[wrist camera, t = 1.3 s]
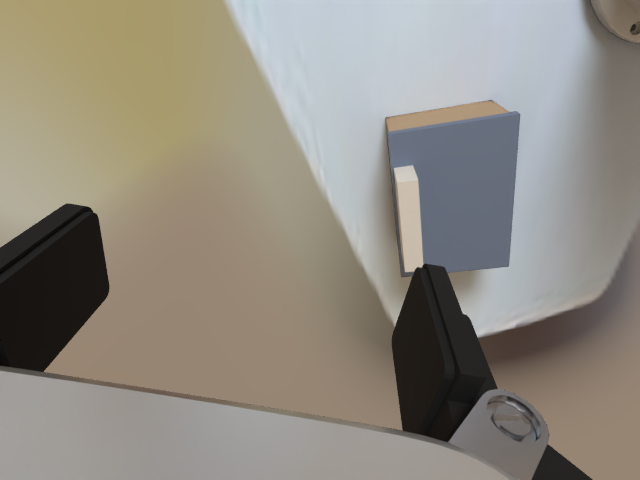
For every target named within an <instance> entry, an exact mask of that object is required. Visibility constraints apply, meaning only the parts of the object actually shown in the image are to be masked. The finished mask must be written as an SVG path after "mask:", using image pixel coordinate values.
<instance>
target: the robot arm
mask: <svg viewBox="0 0 640 480" xmlns="http://www.w3.org/2000/svg"><path fill="white" fill-rule="evenodd" d="M591 4H592V6H593V9H594V11H595V13H596V15H597V17H598V19H599V20H600V21H601V23H602V24H603V25H604V26H605V27H606V29H607V30H609V31H610V32H612V33H613V34H614V35H616V36H617V37H619V38H621V39H624V40H627V41H630V42H632V43H639V44H640V0H591ZM632 25H633V27H632V29H631V26H632ZM630 29H631V30H630ZM108 293H109V281H108V275H107V269H106V262H105V256H104V250H103V244H102V237H101V231H100V225H99V219H98V216H97V214H95V213H93V211H92V210H91V208H89V207H86V206H80V205H74V204H65V205H63V206H62V207H60V208H59V209H57V210H56V211H54V212H53V213H51V214H50V215H48V216H47V217H45V218H44V219H42V220H41V221H39V222H38V223H36V224H35V225H33V226H32V227H30V228H29V229H27V230H26V231H24V232H23V233H21V234H20V235H19V236H17V237H15V238H14V239H12V240H11V241H10V242H8V243H7V244H5V245H4V246H2V247H1V248H0V480H592V479H591V478H590V477H589V476H587V475H586V474H585V473H583V472H582V471H581V470H580V469H578V468H577V467H576V466H575V465H573V464H572V463H571V462H570V461H568V460H567V459H566V458H565V457H563V456H562V455H561V454H559V453H558V452H557V451H555V450H554V449H553V448H552V447H550V446H549V445H548V440H549V431H548V427H547V424H546V422H545V421H544V419H543V417H542V415H541V414H540V413H539V412H538V411H537V410H536V409H535V407H534V406H533V405H531V404H530V403H529V402H528V401H526V400H525V399H523V398H522V397H520V396H518V395H516V394H515V393H512V392H509V391H506V390H498V389H497V386H496V383H495V381H494V378H493V376H492V373H491V371H490V368H489V366H488V363H487V361H486V358H485V356H484V353H483V351H482V348H481V346H480V343H479V341H478V338H477V335H476V333H475V330H474V328H473V325H472V323H471V320H470V319H469V317H468V316H467V315H464V314H463V313H462V311H461V308H460V305H459V303H458V300H457V298H456V295H455V292H454V290H453V287H452V284H451V282H450V279H449V276H448V274H447V271H446V269H445V267H443V266H438V265H432V264H426V263H425V264H424V265H423V266H422V268H420V267H417V268H416V269H415V271H414V274H413V277H412V280H411V283H410V286H409V288H408V291H407V294H406V297H405V300H404V303H403V306H402V309H401V311H400V314H399V317H398V320H397V323H396V326H395V329H394V332H393V336H392V350H393V359H394V366H395V373H396V382H397V390H398V396H399V404H400V413H401V420H402V428H403V431H401V430H397V429H392V428H386V427H381V426H375V425H370V424H364V423H359V422H353V421H348V420H342V419H337V418H331V417H325V416H318V415H312V414H306V413H300V412H293V411H288V410H282V409H275V408H270V407H263V406H257V405H251V404H245V403H239V402H232V401H226V400H220V399H214V398H207V397H201V396H195V395H188V394H182V393H176V392H170V391H163V390H156V389H150V388H144V387H137V386H131V385H125V384H118V383H111V382H104V381H99V380H92V379H85V378H79V377H72V376H66V375H59V374H53V373H46V372H44V370H45V369H46V368H47V367H48V366H49V365H50V363H51V362H52V361H53V360H54V359H55V358H56V356H57V355H58V354H59V352H61V351H62V349H63V348H64V347H65V346H66V345H67V343H68V342H69V341H70V340H71V339H72V338H73V336H74V335H75V334H76V333H77V332H78V331H79V329H80V328H81V327H82V326H83V325H84V324H85V322H86V321H87V320H88V319H89V318H90V316H91V315H92V314H93V313H94V312H95V311H96V309H97V308H98V307H99V306H100V305H101V303H102V302H103V301H104V300H105V299H106V297H107V295H108Z"/></svg>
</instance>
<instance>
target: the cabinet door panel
mask: <svg viewBox="0 0 640 480" xmlns="http://www.w3.org/2000/svg"><path fill="white" fill-rule="evenodd" d="M519 123H520V113H518V112H517V111H515V112H509V113H502V114H496V115H490V116H484V117H477V118H471V119H465V120H459V121H452V122H446V123H440V124H433V125H427V126H421V127H415V128H408V129H402V130H396V131H390V132H387V136H388V146H389V157H390V167H391V177H392V188H393V198H394V208H395V219H396V229H397V240H398V250H399V260H400V271H401V277H409V276H413V274H414V271H415V269H416V268H417V267H420V268H422V266H423V265H424V264H425V263H426V264H432V265H438V266H443V267H445V269H446V271H447V273H449V272H459V271H470V270H480V269H490V268H500V267H509V258H510V244H511V231H512V217H513V204H514V190H515V177H516V163H517V150H518V136H519Z"/></svg>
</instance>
